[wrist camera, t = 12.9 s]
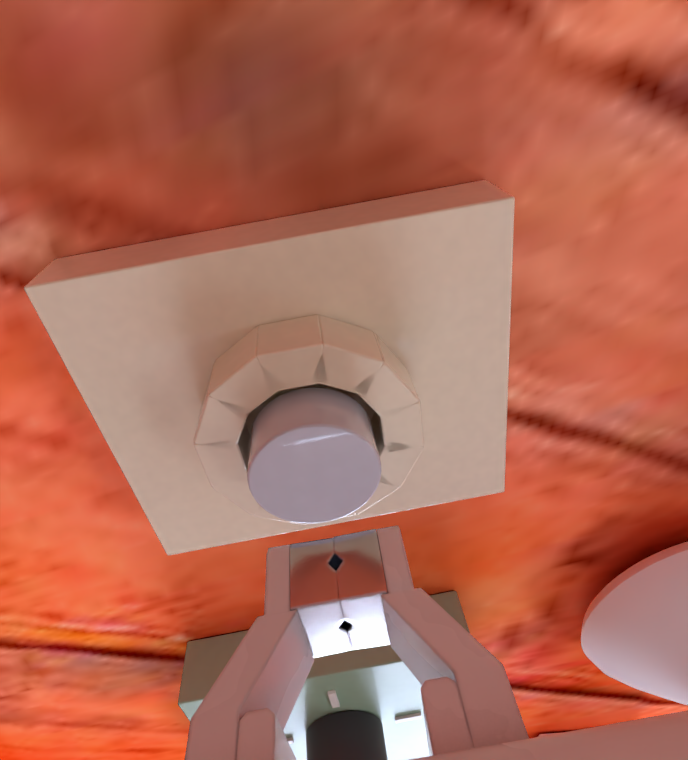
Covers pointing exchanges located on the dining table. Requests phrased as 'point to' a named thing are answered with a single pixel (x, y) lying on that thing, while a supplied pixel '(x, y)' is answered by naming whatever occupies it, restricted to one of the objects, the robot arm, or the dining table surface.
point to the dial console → (333, 688)
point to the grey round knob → (312, 456)
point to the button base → (295, 351)
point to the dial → (346, 737)
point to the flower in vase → (644, 626)
